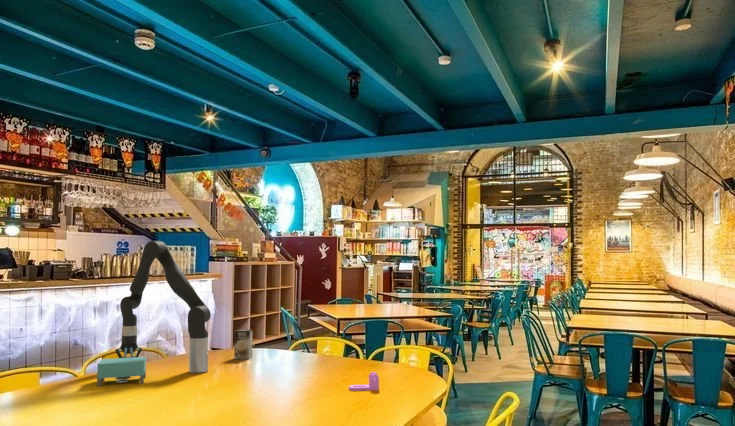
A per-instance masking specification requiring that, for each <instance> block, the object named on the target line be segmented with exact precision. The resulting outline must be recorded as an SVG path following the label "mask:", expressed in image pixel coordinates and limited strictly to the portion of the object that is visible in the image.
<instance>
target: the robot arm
mask: <svg viewBox="0 0 735 426" xmlns="http://www.w3.org/2000/svg"><path fill="white" fill-rule="evenodd" d="M155 259H156V260H157V261H158V262H159V263H160V265H161V266H162V269H163V270H164V271H163V273H164V277H165V280H166V283H167V285H168V286H169V287H170V288H171V290H172V292H173V293H174V294H175V295H177V297H179V298H180V299H181V300H183V302H185V303H186V305H187V306H188V307H189V308H190V309H189V311H188V314H187V331H188V335H189V346H188V347H189V349H188V350H189V352H188V354H189V355H188V372H189V373H192V374H193V373H194V374H201V373H208V372H209V331H208V330H206V323H207V322H208V321H210V320H211V317H212V316H211V315H212V314H211V310H210V308H209V307H208V306H207V305H206V303H205V302H204V301H203V300H202V299H201V298H200V296H199V295H198V294H197V292H196V290H195V289H194V286H192V284H191V282H190V281H189V279H188V277H186V275H185V273H184V272H183V271H182V270H181V268H180V267H179V265H178V263H177V262H176V260H175V259H174V257H173V255H172V253H171V252H170V250H169V247H168V246H167V245H166V243H165V242H164V241H161V240H150V241H148V242H147V243H145V245H144V248H143V250H142V253H141V258H140V261H139V265H138V268H137V270H136V274H135V276H134V277H133V280H132V282H131V284H130V286H129V291H130V293H131V294H130V296H129V295H128V296H124V297H123V298H121V299H120V304H119V309H120V312H121V317H122V328H121V342H120V346H119V347H118V348H116V349H115V353H116V355H117V357H118V358H126V357H127V356H128V354H129V355H130V356H131V358H134V357H140V354H141V352H142V351H143V348H142V347H139V346H138V325H137V324H138V316H137V314H135V313H134V311H133V310H135V309H137V308H139V306H140V305H141V303H142V298H143V293H144V291H145V288H146V286H147V284H148V283H149V282H148V281H149V277H150V269H151V267H152V265H153V262H154V261H155ZM121 351H122V352H121ZM136 351H137V352H136ZM135 352H136V355H135V354H134V353H135ZM121 353H123V356H122V354H121Z"/></svg>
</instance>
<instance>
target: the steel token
mask: <svg viewBox="0 0 735 426" xmlns="http://www.w3.org/2000/svg"><path fill="white" fill-rule="evenodd" d="M115 381H116V383H117V384H125V383H128V381H129V378H121V379H116V380H115Z"/></svg>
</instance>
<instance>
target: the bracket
mask: <svg viewBox="0 0 735 426" xmlns="http://www.w3.org/2000/svg"><path fill="white" fill-rule="evenodd" d="M348 390H349V391H351V392H353V391H354V392H356V391H357V392H361V391H379V390H380V377H379V375H378V374H377V372H376V371H372V372H370V373H369V375H368V384H351V385H349V386H348Z"/></svg>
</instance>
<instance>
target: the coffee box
mask: <svg viewBox="0 0 735 426" xmlns="http://www.w3.org/2000/svg"><path fill="white" fill-rule="evenodd" d="M252 358H253V329H241V328H240V329H236V330H234V357H233V359H234V360H250V359H252Z"/></svg>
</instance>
